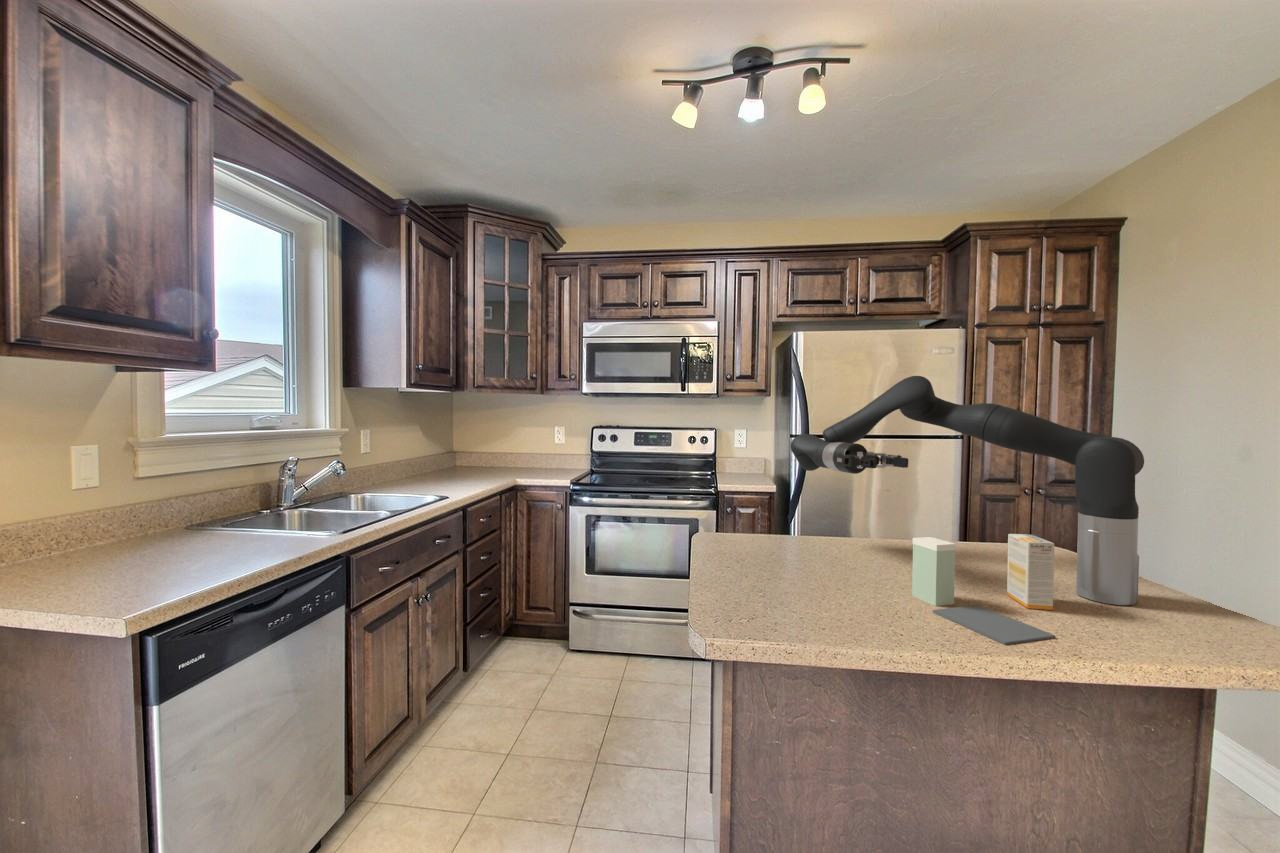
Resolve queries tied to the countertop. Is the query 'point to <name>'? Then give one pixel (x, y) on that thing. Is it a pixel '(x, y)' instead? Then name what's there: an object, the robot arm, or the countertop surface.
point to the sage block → (933, 570)
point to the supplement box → (1030, 571)
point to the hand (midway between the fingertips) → (891, 463)
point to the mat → (993, 624)
